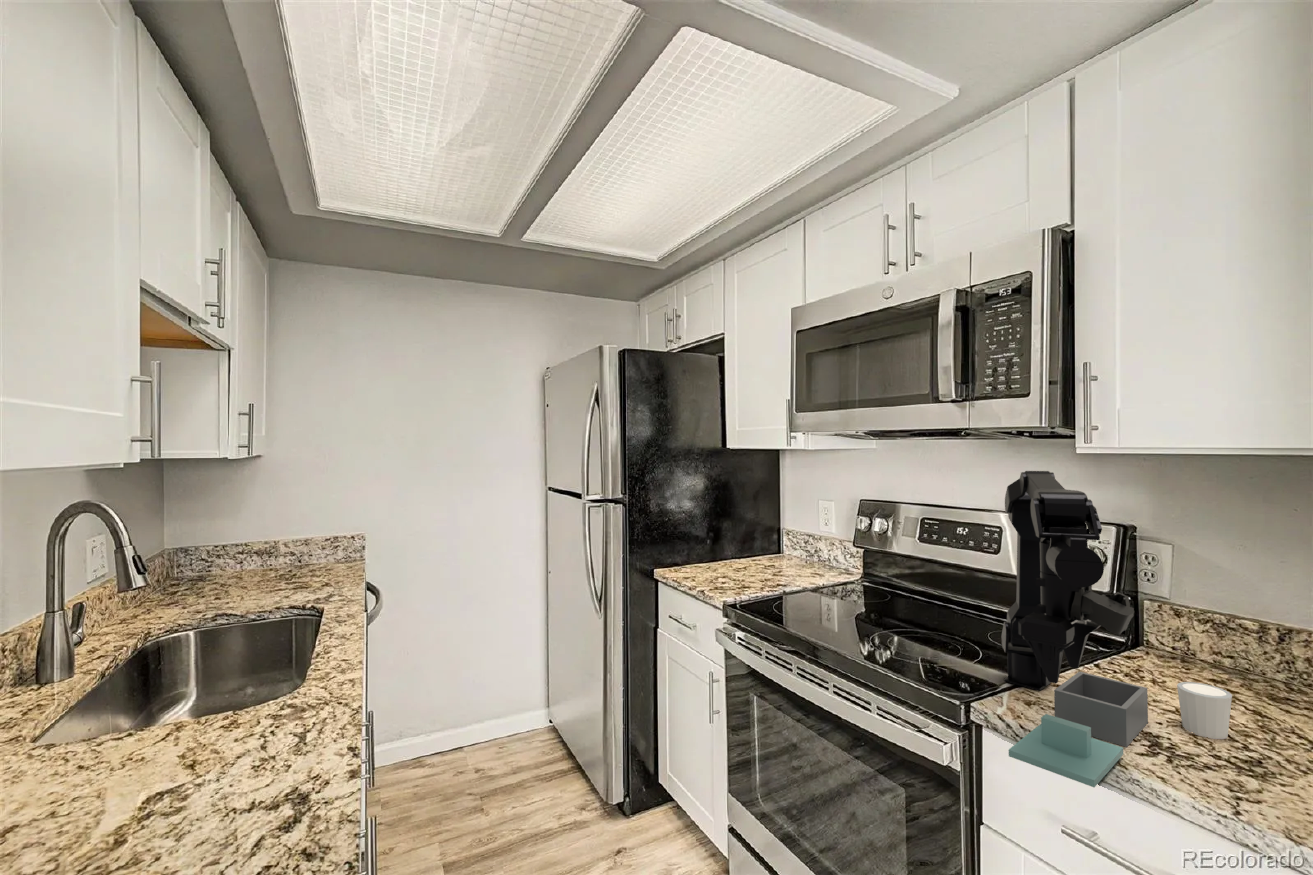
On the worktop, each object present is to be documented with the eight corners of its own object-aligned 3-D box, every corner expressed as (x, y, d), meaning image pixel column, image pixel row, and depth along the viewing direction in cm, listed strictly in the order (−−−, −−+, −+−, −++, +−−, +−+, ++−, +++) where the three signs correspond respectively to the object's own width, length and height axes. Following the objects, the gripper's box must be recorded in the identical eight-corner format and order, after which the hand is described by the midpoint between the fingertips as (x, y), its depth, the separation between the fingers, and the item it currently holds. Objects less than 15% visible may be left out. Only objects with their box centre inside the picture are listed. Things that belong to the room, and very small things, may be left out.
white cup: (1216, 724, 104) (1216, 683, 104) (1243, 743, 97) (1242, 699, 97) (1169, 719, 105) (1168, 679, 105) (1192, 738, 99) (1191, 695, 99)
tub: (1054, 725, 104) (1054, 689, 104) (1079, 703, 112) (1079, 671, 112) (1126, 747, 96) (1126, 709, 96) (1148, 722, 104) (1147, 687, 104)
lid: (1008, 762, 92) (1008, 723, 92) (1042, 734, 101) (1042, 698, 101) (1094, 794, 84) (1093, 751, 84) (1123, 760, 93) (1122, 721, 93)
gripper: (1107, 592, 81) (1109, 709, 81) (1144, 572, 93) (1146, 675, 92) (1016, 578, 89) (1017, 684, 89) (1060, 562, 101) (1062, 655, 101)
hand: (1064, 675), depth 93 cm, fingers open, 9 cm apart
